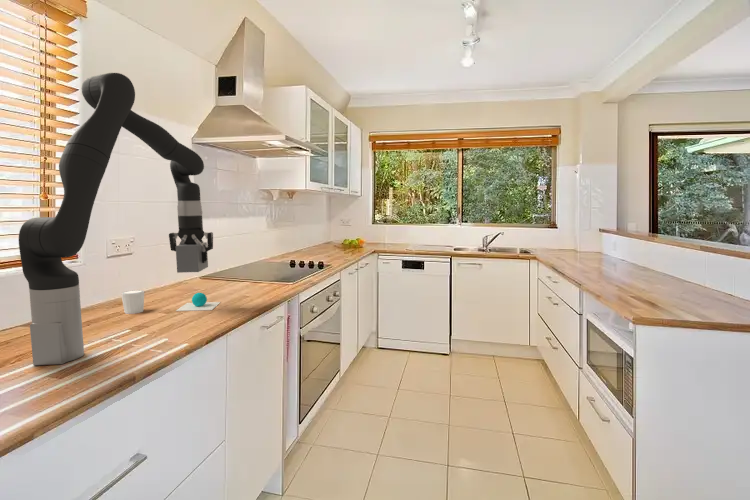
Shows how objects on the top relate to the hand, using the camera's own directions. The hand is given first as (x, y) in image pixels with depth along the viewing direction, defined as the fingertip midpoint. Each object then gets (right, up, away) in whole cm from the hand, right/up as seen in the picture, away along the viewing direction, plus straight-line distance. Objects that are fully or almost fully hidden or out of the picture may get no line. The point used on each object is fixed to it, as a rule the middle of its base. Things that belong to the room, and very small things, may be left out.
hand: (192, 262), depth 141 cm
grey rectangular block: (0, -2, 0) cm, 2 cm away
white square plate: (-1, -16, +8) cm, 18 cm away
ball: (-1, -14, +8) cm, 16 cm away
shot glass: (-21, -17, +1) cm, 27 cm away
